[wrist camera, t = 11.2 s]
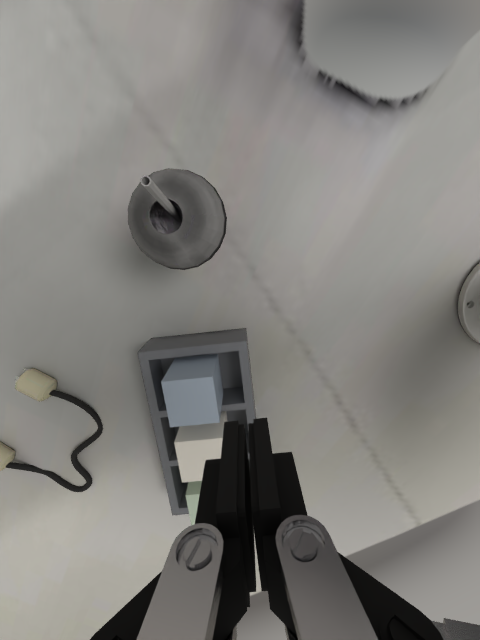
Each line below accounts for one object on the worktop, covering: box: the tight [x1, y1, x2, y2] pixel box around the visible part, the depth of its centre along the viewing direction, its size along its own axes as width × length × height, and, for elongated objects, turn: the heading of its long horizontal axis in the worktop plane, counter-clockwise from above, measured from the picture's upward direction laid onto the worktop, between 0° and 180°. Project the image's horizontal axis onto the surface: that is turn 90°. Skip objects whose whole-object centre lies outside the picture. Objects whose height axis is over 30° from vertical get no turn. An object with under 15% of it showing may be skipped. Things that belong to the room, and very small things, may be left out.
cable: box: [0, 368, 103, 492], centre depth 39 cm, size 16×16×4 cm
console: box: [138, 328, 256, 515], centre depth 37 cm, size 12×22×5 cm, turn 6°
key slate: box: [161, 354, 223, 427], centre depth 31 cm, size 5×5×6 cm
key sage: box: [186, 481, 202, 526], centre depth 35 cm, size 5×5×6 cm
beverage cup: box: [128, 169, 227, 270], centre depth 23 cm, size 7×7×20 cm
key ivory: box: [174, 411, 228, 483], centre depth 33 cm, size 5×5×6 cm
